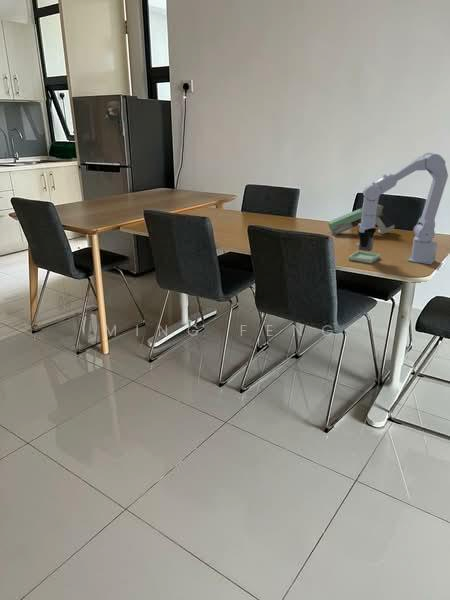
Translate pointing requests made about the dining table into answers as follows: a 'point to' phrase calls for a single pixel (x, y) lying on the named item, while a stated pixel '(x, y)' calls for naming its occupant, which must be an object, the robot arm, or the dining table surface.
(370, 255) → the tray
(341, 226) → the long mint green beam
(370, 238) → the plug
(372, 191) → the robot arm
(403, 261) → the dining table surface
